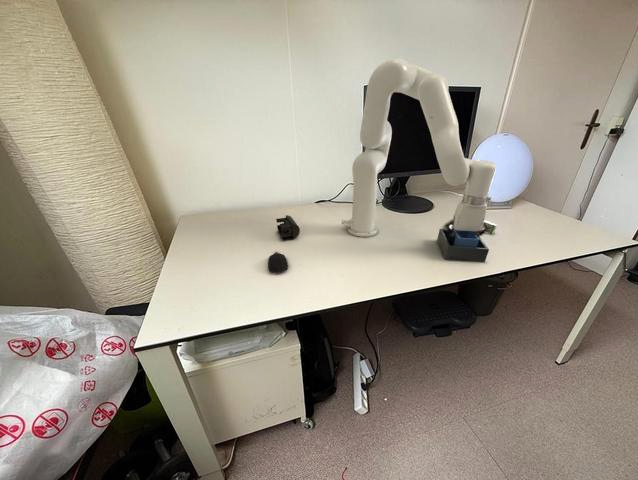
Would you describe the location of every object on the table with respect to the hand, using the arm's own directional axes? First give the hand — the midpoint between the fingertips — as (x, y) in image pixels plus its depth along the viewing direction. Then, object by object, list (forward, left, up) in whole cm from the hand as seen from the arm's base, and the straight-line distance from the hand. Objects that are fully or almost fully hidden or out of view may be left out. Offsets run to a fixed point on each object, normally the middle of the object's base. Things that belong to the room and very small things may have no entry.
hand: (461, 244), depth 105 cm
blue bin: (0, 0, -2) cm, 2 cm away
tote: (0, 0, -3) cm, 3 cm away
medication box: (+15, +23, -3) cm, 27 cm away
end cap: (-68, +4, -3) cm, 68 cm away
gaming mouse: (-66, -18, -3) cm, 69 cm away
